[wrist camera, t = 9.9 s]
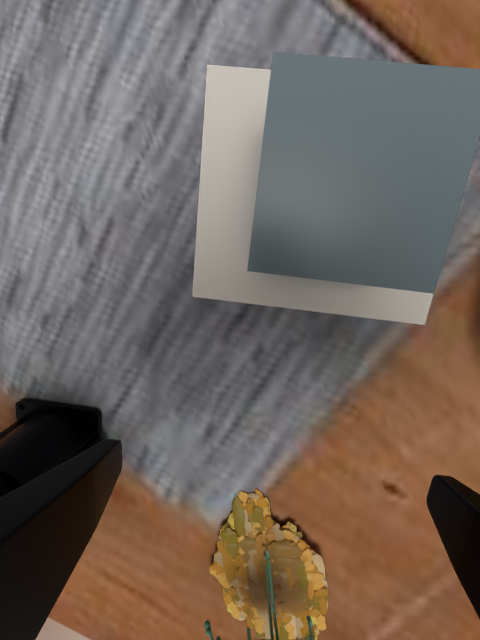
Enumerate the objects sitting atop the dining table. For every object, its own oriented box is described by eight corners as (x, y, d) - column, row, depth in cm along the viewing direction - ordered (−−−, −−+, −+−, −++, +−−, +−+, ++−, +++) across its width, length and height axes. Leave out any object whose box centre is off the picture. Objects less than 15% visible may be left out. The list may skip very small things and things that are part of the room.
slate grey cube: (252, 262, 17) (247, 271, 11) (269, 127, 15) (273, 51, 9) (373, 277, 16) (433, 293, 11) (404, 140, 15) (498, 71, 9)
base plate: (197, 292, 19) (178, 306, 15) (212, 81, 16) (193, 18, 12) (411, 318, 18) (458, 341, 14) (470, 102, 15) (553, 45, 11)
